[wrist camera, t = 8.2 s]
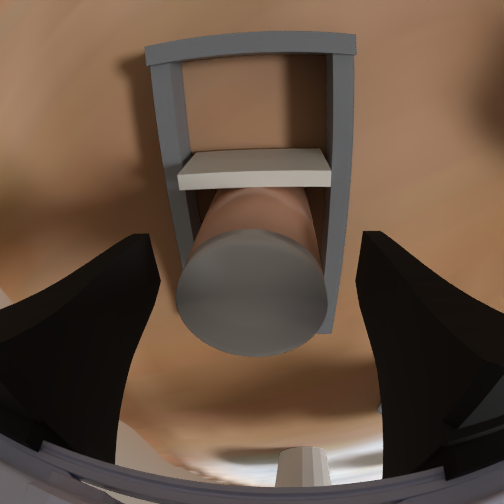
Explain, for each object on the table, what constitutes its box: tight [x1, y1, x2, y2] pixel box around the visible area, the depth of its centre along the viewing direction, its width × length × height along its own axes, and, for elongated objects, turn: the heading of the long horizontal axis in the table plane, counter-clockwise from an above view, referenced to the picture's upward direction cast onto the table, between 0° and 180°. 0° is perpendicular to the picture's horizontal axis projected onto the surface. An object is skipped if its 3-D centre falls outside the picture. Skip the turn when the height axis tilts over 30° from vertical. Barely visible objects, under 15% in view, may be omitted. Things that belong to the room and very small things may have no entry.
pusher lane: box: [145, 31, 357, 334], centre depth 14 cm, size 15×8×2 cm, turn 3°
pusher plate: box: [177, 149, 331, 190], centre depth 12 cm, size 1×5×3 cm, turn 93°
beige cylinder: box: [275, 446, 331, 487], centre depth 29 cm, size 7×7×7 cm
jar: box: [176, 187, 328, 357], centre depth 12 cm, size 4×4×7 cm
